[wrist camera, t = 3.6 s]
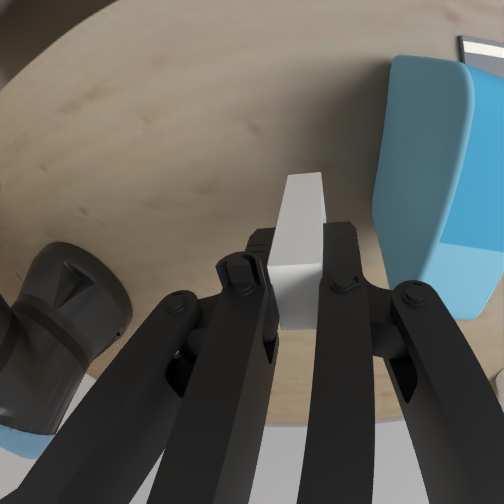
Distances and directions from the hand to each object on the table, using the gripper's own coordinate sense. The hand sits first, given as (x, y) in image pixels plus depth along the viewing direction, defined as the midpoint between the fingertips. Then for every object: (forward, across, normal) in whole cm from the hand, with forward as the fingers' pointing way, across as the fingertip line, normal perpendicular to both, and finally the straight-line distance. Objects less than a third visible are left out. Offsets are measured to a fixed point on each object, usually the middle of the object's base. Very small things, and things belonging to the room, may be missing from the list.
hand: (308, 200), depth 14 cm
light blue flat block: (+9, +7, 0) cm, 11 cm away
